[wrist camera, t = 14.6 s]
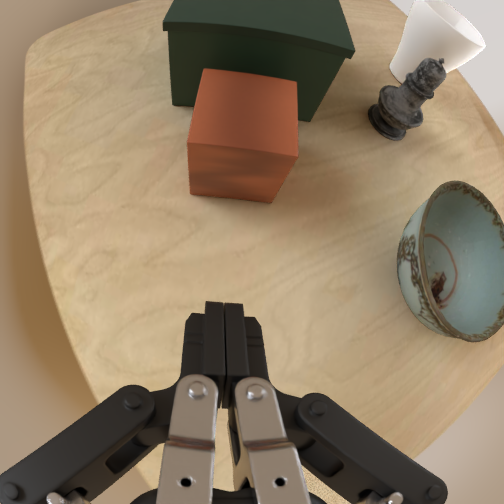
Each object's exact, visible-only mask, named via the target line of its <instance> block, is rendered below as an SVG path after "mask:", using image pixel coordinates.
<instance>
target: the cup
mask: <svg viewBox="0 0 504 504" xmlns="http://www.w3.org/2000/svg"><path fill="white" fill-rule="evenodd" d="M485 46H486V44H485V41H484V39H483V38H482V36H481V35H480V33H479V32H478V31H477V29H476V28H475V27H474V26H473V25H472V24H471V23H470V22H469V21H468V20H467V19H466V18H465V17H464V16H463V15H462V14H460V13H459V12H458V11H457V10H456V9H454V8H453V7H452V6H450V5H449V4H447V3H446V2H444V1H443V0H415V1H414V3H413V5H412V7H411V10H410V13H409V16H408V18H407V21H406V24H405V28H404V31H403V35H402V38H401V41H400V44H399V47H398V49H397V52H396V54H395V56H394V57H393V59H392V61H391V63H390V70H391V72H392V74H393V75H394V77H395V78H396V79H397V80H398V81H399V82H400V83H401V84H403V82H404V81H405V80H406V74H407V73H413V71H414V70H415V69H416V68H417V67H418V65H419V64H420V63H421V62H422V60H424V59H425V58H432V59H435V60H437V61H439V58H440V59H441V58H444V64H443V63H442V65H443V67H444V69H445V71H446V73H448V72H450V71H452V70H454V69H456V68H458V67H459V66H461V65H462V64H464V63H466V62H467V61H469V60H470V59H472V58H473V57H475V56H476V55H477V54H478V53H479V52H481V51H482V50H483V49H484V48H485Z"/></svg>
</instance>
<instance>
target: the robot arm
mask: <svg viewBox="0 0 504 504" xmlns="http://www.w3.org/2000/svg"><path fill="white" fill-rule="evenodd" d="M221 401H222V408H224V409H228V423H227V429H228V436H229V443H230V450H231V456H232V463H233V482H234V489H235V491H233V492H229V491H224V490H220V489H215V488H213V475H214V457H215V430H216V418H217V411H218V408H220V405H221ZM161 443H165V445H164V450H163V457H162V463H161V470H160V477H159V485H158V488H157V489H153V490H150V491H148V492H146V493H144V494H142V495H140V496H139V497H137V498H136V499H135V500H134V501H132V502H131V503H130V504H327V503H326V502H325V501H323V500H322V499H321V498H319V497H318V496H316V495H314V494H312V493H310V492H308V489H307V485H306V482H305V478H304V474H303V470H302V467H301V465H303V466H304V467H305V468H306V469H307V470H309V471H310V472H311V473H312V474H313V475H315V476H316V477H317V478H318V479H320V480H321V481H322V482H323V483H325V484H326V485H327V486H329V487H330V488H331V489H332V490H334V491H335V492H336V493H338V494H339V495H340V496H342V497H343V498H344V499H346V500H347V501H348V502H350V503H351V504H444V503H445V501H446V499H447V495H448V491H447V486H446V484H445V483H444V482H443V481H442V480H441V479H440V478H438V477H437V476H435V475H434V474H432V473H431V472H429V471H428V470H426V469H425V468H423V467H422V466H420V465H419V464H417V463H416V462H415V461H413V460H412V459H410V458H409V457H408V456H406V455H405V454H403V453H402V452H400V451H399V450H398V449H396V448H395V447H394V446H392V445H391V444H389V443H388V442H387V441H385V440H384V439H383V438H381V437H380V436H378V435H377V434H376V433H374V432H373V431H372V430H370V429H369V428H368V427H366V426H365V425H364V424H362V423H361V422H360V421H358V420H357V419H356V418H355V417H353V416H352V415H351V414H349V413H348V412H347V411H345V410H344V409H343V408H342V407H340V406H339V405H338V404H337V403H335V402H334V401H333V400H332V399H330V398H329V397H327V396H326V395H324V394H320V393H310V394H307V395H305V396H304V397H302V398H298V397H295V396H291V395H287V394H284V393H282V392H280V391H278V390H277V389H276V388H275V387H274V386H273V385H272V384H271V382H270V380H269V376H268V370H267V363H266V356H265V349H264V343H263V336H262V329H261V326H260V324H259V323H258V321H257V320H256V318H255V317H244V311H243V304H239V303H223V302H210V301H206V303H205V314H200V313H191V315H190V316H189V318H188V319H187V320H186V323H185V333H184V343H183V353H182V364H181V374H180V377H179V379H178V381H177V382H176V383H175V384H174V385H173V386H171V387H169V388H167V389H163V390H158V391H153V392H149V391H148V390H147V389H146V388H144V387H142V386H139V385H127V386H124V387H122V388H120V389H119V390H118V391H116V392H115V393H114V394H112V395H111V396H110V397H108V398H107V399H106V400H104V401H103V402H102V403H100V404H99V405H97V406H96V407H95V408H93V409H92V410H91V411H89V412H88V413H87V414H85V415H84V416H83V417H81V418H80V419H79V420H77V421H76V422H74V423H73V424H72V425H70V426H69V427H68V428H66V429H65V430H63V431H62V432H61V433H59V434H58V435H56V436H55V437H54V438H52V439H51V440H50V441H48V442H47V443H45V444H44V445H43V446H41V447H40V448H38V449H37V450H36V451H34V452H33V453H31V454H30V455H28V456H27V457H25V458H24V459H23V460H21V461H20V462H18V463H17V464H16V465H14V466H13V467H11V468H10V469H8V470H7V471H5V472H4V473H2V474H1V475H0V503H1V504H91V503H90V502H91V501H92V500H93V499H95V498H96V497H97V496H98V495H100V494H101V493H102V492H103V491H105V490H106V489H107V488H108V487H110V486H111V485H112V484H113V483H115V482H116V481H117V480H118V479H119V478H121V477H122V476H123V475H124V474H125V473H126V472H128V471H129V470H130V469H131V468H132V467H134V466H135V465H136V464H137V463H138V462H139V461H141V460H142V459H143V458H144V457H145V456H146V455H147V454H149V453H150V452H151V451H152V450H153V449H154V448H155V447H156V446H157V445H158V444H161Z"/></svg>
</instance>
